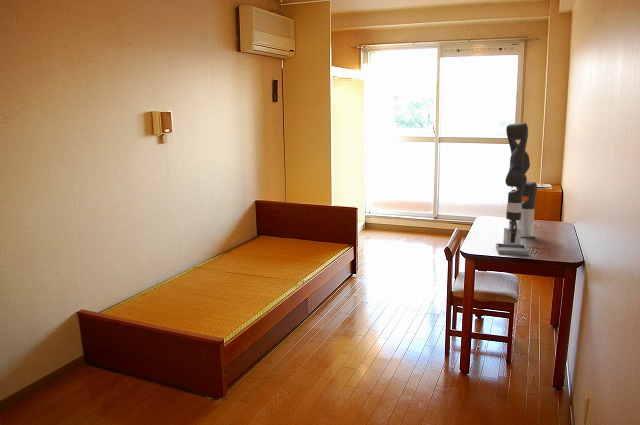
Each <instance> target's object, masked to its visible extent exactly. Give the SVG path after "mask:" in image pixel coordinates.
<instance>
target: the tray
mask: <svg viewBox="0 0 640 425" xmlns="http://www.w3.org/2000/svg"><path fill="white" fill-rule="evenodd" d="M495 248H496V251H497V254H498V255H507V256H508V255H509V256H527V257H529V254H530V253H529V250H528V248H527V246H526V245H525V244H520V245H505V244H504V243H497V242H496V243H495Z"/></svg>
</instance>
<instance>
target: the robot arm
mask: <svg viewBox="0 0 640 425" xmlns="http://www.w3.org/2000/svg"><path fill="white" fill-rule="evenodd" d="M505 130H506V137H507V142H508V144H509V149H510V156H509V157H510V159H509V169H508V172H507V174H506V176H505V180H504V181H505V185H506V186H508V187H515V190H511V191H509V192H508V193H507V203H506V213H505V214H506V216H505V217H506V220H509V221H508V228H510V231H511V241H510V242H511V243H515V236H516V235H517V234H516V233H517V228H520V229H521V238H532V237H533V234H534V221H535V208H536V201H537V200H536V198H537V192H538V191H537V190H538V185H537V183H536V181H528V178H527V176H526V173H527V172H528V170H529V169H530V166H531V161H530V156H529V154H528V152H527V151H526V148H527V143H528V137H529V127H528V124H527V123H526V122H518V123H517V122H516V123H509V124H507V125H506V128H505ZM519 140H520V141H519ZM517 141H519V143H518V142H517ZM525 197H526V198H528V199H527V200H525V201H523V198H525ZM511 229H512V230H511ZM513 232H515V233H513Z"/></svg>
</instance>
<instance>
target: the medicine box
mask: <svg viewBox="0 0 640 425" xmlns="http://www.w3.org/2000/svg"><path fill="white" fill-rule="evenodd" d="M503 229H504V230H503V243H502V244H505V245H521V242H522V240H521V239H522V237H521V229H520V228H517V233H516V234H517V235H516V236H515V243H511V242H510V241H511V231H510V228H509V227H504V228H503ZM511 230H512V229H511ZM513 233H515V232H513Z"/></svg>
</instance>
